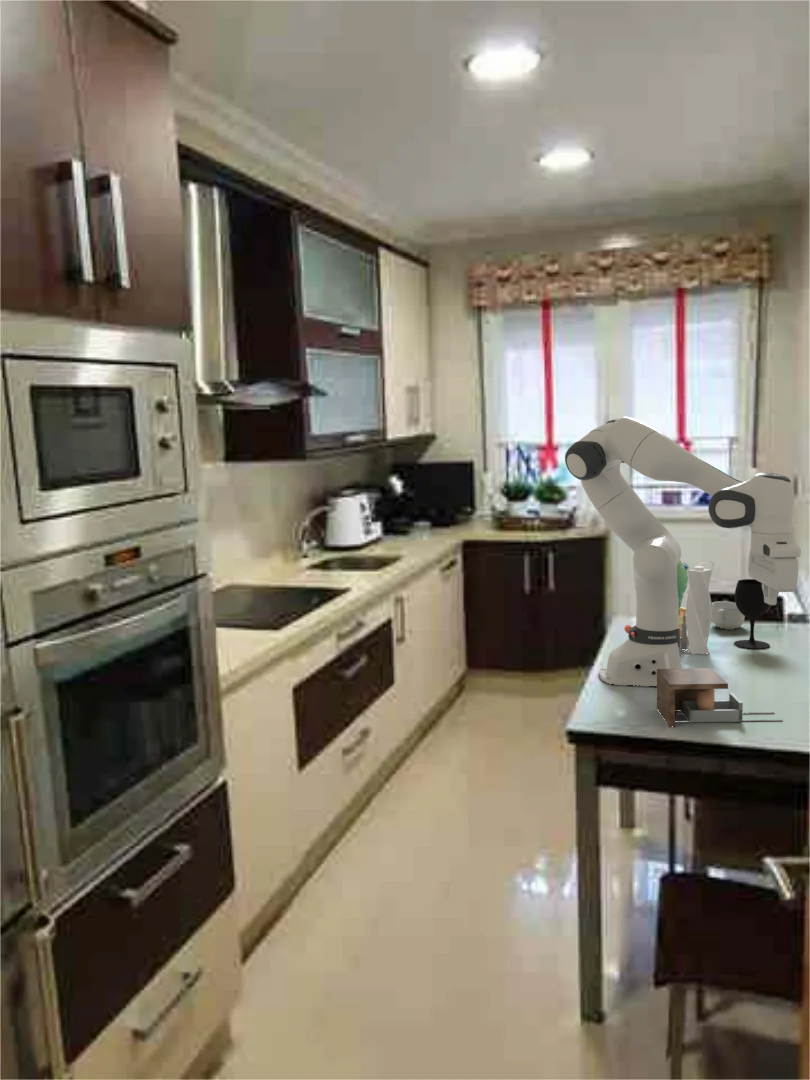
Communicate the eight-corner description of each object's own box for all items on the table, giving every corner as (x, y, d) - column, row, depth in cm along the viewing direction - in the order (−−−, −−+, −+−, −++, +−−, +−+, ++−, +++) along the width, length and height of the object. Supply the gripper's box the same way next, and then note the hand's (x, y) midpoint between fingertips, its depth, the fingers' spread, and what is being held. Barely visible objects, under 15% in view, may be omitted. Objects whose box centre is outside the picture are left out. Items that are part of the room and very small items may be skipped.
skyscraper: (708, 648, 253) (709, 558, 249) (715, 656, 245) (717, 563, 241) (680, 649, 253) (681, 559, 250) (686, 656, 245) (687, 563, 242)
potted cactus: (697, 642, 260) (698, 564, 256) (646, 640, 264) (646, 563, 260) (694, 630, 274) (695, 556, 271) (646, 628, 278) (646, 555, 275)
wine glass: (775, 649, 248) (777, 584, 246) (741, 650, 249) (742, 585, 246) (761, 640, 259) (763, 578, 256) (728, 641, 259) (729, 579, 256)
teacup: (721, 622, 284) (722, 599, 283) (751, 627, 276) (752, 603, 275) (699, 629, 275) (699, 605, 274) (730, 634, 267) (730, 610, 266)
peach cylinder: (698, 717, 192) (699, 692, 191) (694, 711, 196) (694, 687, 195) (716, 717, 191) (716, 692, 191) (711, 711, 195) (711, 687, 195)
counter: (669, 727, 188) (669, 684, 187) (656, 709, 200) (657, 668, 199) (788, 726, 187) (789, 682, 185) (768, 708, 198) (769, 667, 197)
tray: (689, 722, 190) (689, 703, 190) (681, 711, 197) (681, 693, 197) (742, 721, 190) (742, 702, 189) (732, 711, 197) (732, 692, 196)
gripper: (741, 538, 198) (740, 595, 200) (774, 551, 177) (772, 614, 179) (768, 538, 197) (767, 594, 199) (804, 550, 177) (802, 613, 179)
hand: (770, 603), depth 189 cm, fingers closed
